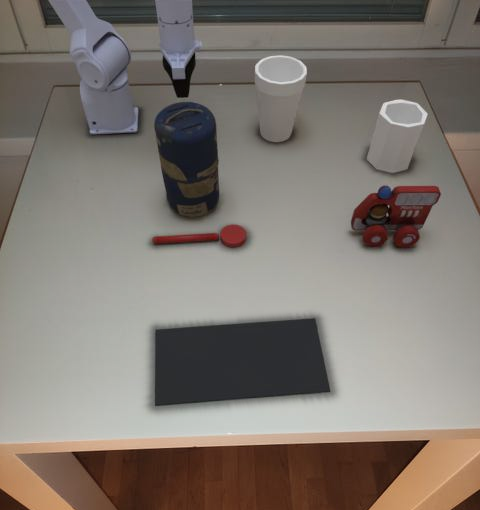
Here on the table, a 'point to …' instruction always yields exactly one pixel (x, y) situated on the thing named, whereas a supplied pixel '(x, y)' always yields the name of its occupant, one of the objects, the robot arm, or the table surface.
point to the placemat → (238, 361)
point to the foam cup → (278, 95)
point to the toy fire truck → (394, 214)
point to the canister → (188, 157)
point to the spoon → (209, 237)
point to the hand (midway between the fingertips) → (182, 95)
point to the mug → (396, 135)
